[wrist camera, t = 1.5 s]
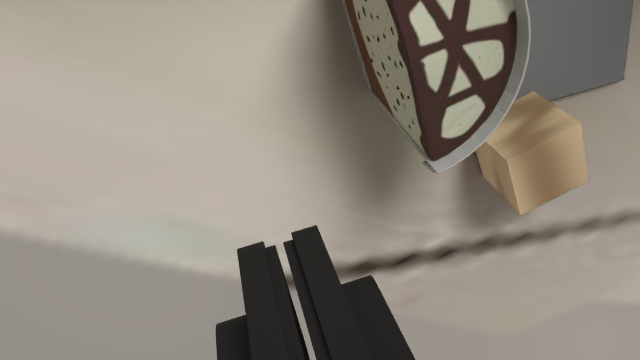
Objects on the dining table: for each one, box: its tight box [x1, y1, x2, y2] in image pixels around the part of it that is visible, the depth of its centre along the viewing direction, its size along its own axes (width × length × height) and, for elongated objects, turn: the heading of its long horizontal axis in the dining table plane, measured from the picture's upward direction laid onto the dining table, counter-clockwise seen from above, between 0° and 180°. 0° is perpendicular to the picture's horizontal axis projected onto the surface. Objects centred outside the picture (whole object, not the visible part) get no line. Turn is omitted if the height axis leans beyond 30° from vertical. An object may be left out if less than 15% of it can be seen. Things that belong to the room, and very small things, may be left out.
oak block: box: [475, 91, 589, 216], centre depth 34 cm, size 5×5×5 cm
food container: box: [341, 0, 531, 174], centre depth 25 cm, size 12×6×10 cm, turn 19°
